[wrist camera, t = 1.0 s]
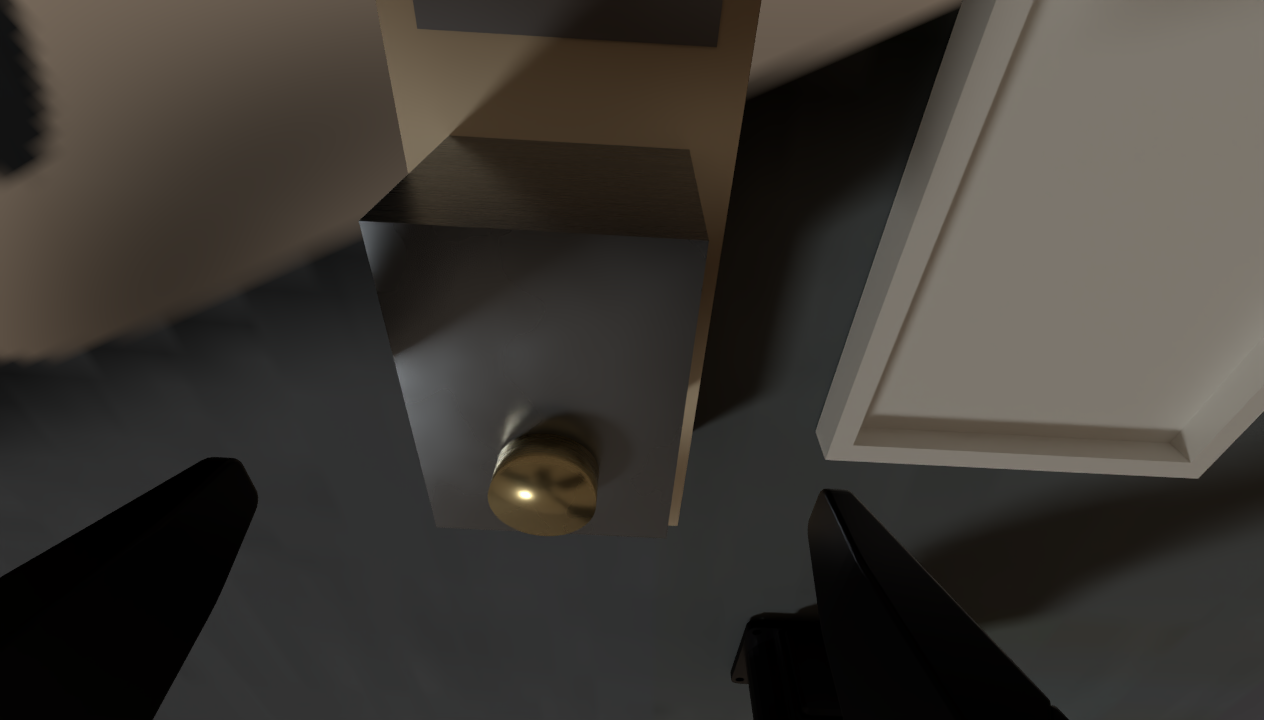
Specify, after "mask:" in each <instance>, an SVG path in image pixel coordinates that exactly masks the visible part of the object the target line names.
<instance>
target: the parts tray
mask: <svg viewBox="0 0 1264 720" xmlns="http://www.w3.org/2000/svg"><path fill="white" fill-rule="evenodd" d="M1263 411H1264V0H963V1H962V4H961V7H960V9H959V12H958V15H957V18H956V21H955V24H954V27H953V30H952V33H951V36H950V39H949V42H948V45H947V48H946V50H945V53H944V56H943V59H942V62H941V65H940V68H939V71H938V74H937V77H936V80H935V83H934V86H933V89H932V91H931V94H930V97H929V100H928V103H927V106H926V109H925V112H924V115H923V118H922V121H921V124H920V127H919V130H918V132H917V135H916V138H915V141H914V144H913V147H912V150H911V153H910V156H909V159H908V162H907V165H906V168H905V171H904V173H903V176H902V179H901V182H900V185H899V188H898V191H897V194H896V197H895V200H894V203H893V206H892V209H891V212H890V214H889V217H888V220H887V223H886V226H885V229H884V232H883V235H882V238H881V241H880V244H879V247H878V250H877V253H876V255H875V258H874V261H873V264H872V267H871V270H870V273H869V276H868V279H867V282H866V285H865V288H864V291H863V294H862V296H861V299H860V302H859V305H858V308H857V311H856V314H855V317H854V320H853V323H852V326H851V329H850V332H849V334H848V337H847V340H846V343H845V346H844V349H843V352H842V355H841V358H840V361H839V364H838V367H837V370H836V373H835V375H834V378H833V381H832V384H831V387H830V390H829V393H828V396H827V399H826V402H825V405H824V408H823V411H822V414H821V416H820V419H819V422H818V425H817V428H816V431H815V432H816V434H817V437H818V440H819V443H820V446H821V449H822V452H823V454H824V457H825V460H841V461H861V462H880V463H900V464H920V465H939V466H959V467H979V468H998V469H1018V470H1038V471H1057V472H1077V473H1097V474H1116V475H1136V476H1156V477H1175V478H1195V479H1198V478H1199V477H1200V476H1201V475H1202V474H1203V473H1204V472H1205V471H1206V470H1207V469H1208V468H1209V467H1210V466H1211V465H1212V464H1213V463H1214V462H1215V461H1216V460H1217V459H1218V458H1219V457H1220V455H1221V454H1222V453H1223V452H1224V451H1225V450H1226V449H1227V448H1228V447H1229V446H1230V445H1231V444H1232V443H1233V442H1234V441H1235V440H1236V439H1237V438H1238V437H1239V436H1240V435H1241V434H1242V433H1243V432H1244V431H1245V430H1246V429H1247V428H1248V427H1249V426H1250V425H1251V424H1252V423H1253V422H1254V421H1255V420H1256V419H1257V418H1258V417H1259V415H1260V414H1261V413H1262V412H1263Z"/></svg>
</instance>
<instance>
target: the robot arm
mask: <svg viewBox="0 0 1264 720" xmlns="http://www.w3.org/2000/svg"><path fill="white" fill-rule="evenodd" d="M257 504H258V494H257V491H256V489H255V487H254V485H253V483H252V481H251V479H250V477H249V475H248V474H247V472H246V470H245V468H244V466H243V464H242V463H241V462H240V461H239V460H237V459H235V458H222V457H210V458H206V459H204V460H202V461H200V462H198V463H196V464H195V465H193V466H191V467H189V468H188V469H186V470H184V471H182V472H181V473H179V474H177V475H176V476H174V477H172V478H170V479H169V480H167V481H165V482H164V483H162V484H160V485H158V486H157V487H155V488H153V489H152V490H150V491H148V492H146V493H145V494H143V495H141V496H139V497H138V498H136V499H134V500H133V501H131V502H129V503H127V504H126V505H124V506H122V507H121V508H119V509H117V510H115V511H114V512H112V513H110V514H109V515H107V516H105V517H103V518H102V519H100V520H98V521H96V522H95V523H93V524H91V525H90V526H88V527H86V528H84V529H83V530H81V531H79V532H78V533H76V534H74V535H72V536H71V537H69V538H67V539H66V540H64V541H62V542H60V543H59V544H57V545H55V546H53V547H52V548H50V549H48V550H47V551H45V552H43V553H41V554H40V555H38V556H36V557H35V558H33V559H31V560H29V561H28V562H26V563H24V564H22V565H21V566H19V567H17V568H16V569H14V570H12V571H10V572H9V573H7V574H5V575H4V576H2V577H0V720H153V718H154V716H155V715H156V713H157V711H158V709H159V707H160V705H161V704H162V702H163V700H164V698H165V696H166V694H167V693H168V691H169V689H170V687H171V685H172V683H173V682H174V680H175V678H176V676H177V674H178V672H179V671H180V669H181V667H182V665H183V663H184V661H185V660H186V658H187V656H188V654H189V652H190V650H191V649H192V647H193V645H194V643H195V641H196V639H197V638H198V636H199V634H200V632H201V630H202V628H203V627H204V625H205V623H206V621H207V619H208V617H209V615H210V614H211V612H212V610H213V608H214V606H215V604H216V602H217V600H218V597H219V595H220V593H221V591H222V589H223V587H224V584H225V582H226V580H227V577H228V575H229V573H230V570H231V568H232V565H233V563H234V561H235V558H236V556H237V554H238V551H239V549H240V546H241V544H242V542H243V539H244V537H245V535H246V532H247V530H248V528H249V525H250V523H251V520H252V518H253V516H254V513H255V511H256V508H257ZM808 539H809V547H810V554H811V561H812V568H813V576H814V583H815V590H816V597H817V604H818V612H819V618H820V623H805V622H784V621H762V620H754V621H750V622H748V623H747V625H746V628H745V631H744V634H743V637H742V640H741V643H740V646H739V649H738V652H737V655H736V657H735V660H734V663H733V666H732V669H731V680H732V682H734V683H740V684H749V691H750V698H751V705H752V713H753V720H1069V719H1068V718H1067V717H1066V716H1065V715H1064V714H1063V713H1062V712H1061V711H1060V710H1059V709H1058V708H1057V707H1056V706H1053V705H1052V706H1051V704H1050V700H1049V699H1048V698H1047V697H1046V696H1045V695H1044V693H1043V692H1042V691H1041V690H1040V689H1039V688H1038V687H1037V686H1036V685H1035V684H1034V683H1033V682H1032V681H1031V680H1030V679H1029V678H1028V677H1027V676H1026V675H1025V674H1024V672H1023V671H1022V670H1021V669H1020V668H1019V667H1018V666H1017V665H1016V664H1015V663H1014V662H1013V661H1012V660H1011V659H1010V658H1009V657H1008V656H1007V655H1006V654H1005V653H1004V652H1003V650H1002V649H1001V648H1000V647H999V646H998V645H997V644H996V643H995V642H994V641H993V640H992V639H991V638H990V637H989V636H988V635H987V634H986V633H985V632H984V631H983V629H982V628H981V627H980V626H979V625H978V624H977V623H976V622H975V621H974V620H973V619H972V618H971V617H970V616H969V615H968V614H967V613H966V612H965V611H964V610H963V608H962V607H961V606H960V605H959V604H958V603H957V602H956V601H955V600H954V599H953V598H952V597H951V596H950V595H949V594H948V593H947V592H946V591H945V590H944V589H943V587H942V586H941V585H940V584H939V583H938V582H937V581H936V580H935V579H934V578H933V577H932V576H931V575H930V574H929V573H928V572H927V571H926V570H925V569H924V568H923V567H922V565H921V564H920V563H919V562H918V561H917V560H916V559H915V558H914V557H913V556H912V555H911V554H910V553H909V552H908V551H907V550H906V549H905V548H904V547H903V546H902V544H901V543H900V542H899V541H898V540H897V539H896V538H895V537H894V536H893V535H892V534H891V533H890V532H889V531H888V530H887V529H886V528H885V527H884V526H883V525H882V523H881V522H880V521H879V520H878V519H877V518H876V517H875V516H874V515H873V514H872V513H871V512H870V511H869V510H868V509H867V508H866V507H865V506H864V505H863V504H862V502H861V501H860V500H859V499H858V498H857V497H856V496H855V495H854V494H853V493H851V492H850V491H848V490H844V489H823V490H822V491H821V492H820V494H819V496H818V498H817V501H816V503H815V506H814V509H813V511H812V514H811V517H810V519H809V523H808Z"/></svg>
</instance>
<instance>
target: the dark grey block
mask: <svg viewBox="0 0 1264 720" xmlns="http://www.w3.org/2000/svg"><path fill="white" fill-rule="evenodd" d="M359 224H360V228H361V231H362V235H363V239H364V243H365V247H366V251H367V255H368V259H369V263H370V267H371V271H372V275H373V279H374V283H375V287H376V290H377V294H378V298H379V302H380V306H381V310H382V314H383V318H384V322H385V326H386V330H387V334H388V338H389V342H390V346H391V350H392V353H393V357H394V361H395V365H396V369H397V373H398V377H399V381H400V385H401V389H402V393H403V397H404V401H405V405H406V409H407V412H408V416H409V420H410V424H411V428H412V432H413V436H414V440H415V444H416V448H417V452H418V456H419V460H420V464H421V468H422V471H423V475H424V479H425V483H426V487H427V491H428V495H429V499H430V503H431V507H432V511H433V515H434V519H435V523H436V527H442V528H462V529H483V530H503V531H522V532H524V533H528V534H533V535H540V536H557V535H564V534H586V535H606V536H627V537H648V538H666V536H667V530H668V523H669V516H670V509H671V502H672V495H673V488H674V481H675V474H676V467H677V460H678V453H679V446H680V439H681V432H682V425H683V418H684V411H685V404H686V397H687V390H688V383H689V377H690V370H691V363H692V356H693V349H694V342H695V335H696V328H697V321H698V314H699V307H700V300H701V293H702V286H703V279H704V272H705V265H706V258H707V251H708V244H709V238H708V234H707V229H706V224H705V220H704V215H703V210H702V206H701V201H700V197H699V192H698V187H697V183H696V178H695V173H694V169H693V164H692V160H691V155H690V150H689V149H672V148H655V147H638V146H620V145H603V144H586V143H569V142H552V141H535V140H518V139H501V138H484V137H467V136H450V135H449V136H448V137H447V138H446V139H445V140H444V141H443V142H442V143H440V144H439V145H438V146H437V147H436V148H435V149H434V150H433V151H432V152H431V153H430V154H429V155H428V156H427V157H426V158H425V159H424V160H423V161H421V162H420V163H419V164H418V165H417V166H416V167H415V168H414V169H413V170H412V171H411V172H410V173H409V174H408V175H407V176H406V177H405V178H404V179H403V180H401V181H400V182H399V184H397V185H396V186H395V187H394V188H393V189H392V190H391V191H390V192H389V193H388V194H387V195H386V196H385V197H384V198H383V199H381V200H380V201H379V202H378V203H377V204H376V205H375V206H374V207H373V208H372V209H371V210H370V211H369V212H368V213H367V214H366V215H365V216H364V217H362V218H361V219H360V220H359Z"/></svg>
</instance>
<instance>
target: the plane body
mask: <svg viewBox="0 0 1264 720" xmlns="http://www.w3.org/2000/svg"><path fill="white" fill-rule="evenodd" d="M376 5H377V11H378V16H379V21H380V26H381V32H382V37H383V42H384V48H385V53H386V58H387V63H388V69H389V74H390V79H391V84H392V90H393V95H394V100H395V106H396V111H397V116H398V122H399V127H400V133H401V137H402V143H403V148H404V154H405V159H406V164H407V170H408V174H409V173H410V172H411V171H412V170H413V169H414V168H415V167H416V166H417V165H418V164H419V163H420V162H421V161H423V160H424V159H425V158H426V157H427V156H428V155H429V154H430V153H431V152H432V151H433V150H434V149H435V148H436V147H437V146H438V145H439V144H440V143H442V142H443V141H444V140H445V139H446V138H447V137H448V136H449V135H450V136H467V137H484V138H501V139H518V140H535V141H552V142H569V143H586V144H603V145H620V146H638V147H655V148H672V149H689V150H690V155H691V160H692V164H693V169H694V173H695V178H696V183H697V187H698V192H699V197H700V201H701V206H702V210H703V215H704V220H705V224H706V229H707V234H708V238H709V244H708V251H707V258H706V265H705V272H704V279H703V286H702V293H701V300H700V307H699V314H698V321H697V328H696V335H695V342H694V349H693V356H692V363H691V370H690V377H689V383H688V390H687V397H686V404H685V411H684V418H683V425H682V432H681V439H680V446H679V453H678V460H677V467H676V474H675V481H674V488H673V495H672V502H671V509H670V516H669V523H668V525H672V526H677V525H678V519H679V513H680V506H681V500H682V494H683V488H684V481H685V475H686V469H687V462H688V456H689V450H690V444H691V437H692V431H693V425H694V419H695V412H696V406H697V400H698V394H699V387H700V381H701V375H702V369H703V362H704V356H705V350H706V344H707V337H708V331H709V325H710V319H711V312H712V306H713V300H714V294H715V287H716V281H717V275H718V269H719V262H720V256H721V250H722V244H723V237H724V231H725V225H726V218H727V212H728V206H729V200H730V193H731V187H732V181H733V175H734V168H735V162H736V156H737V150H738V143H739V137H740V131H741V125H742V118H743V112H744V106H745V100H746V93H747V87H748V81H749V75H750V68H751V62H752V56H753V50H754V43H755V37H756V30H757V25H758V18H759V12H760V6H761V0H376Z"/></svg>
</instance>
